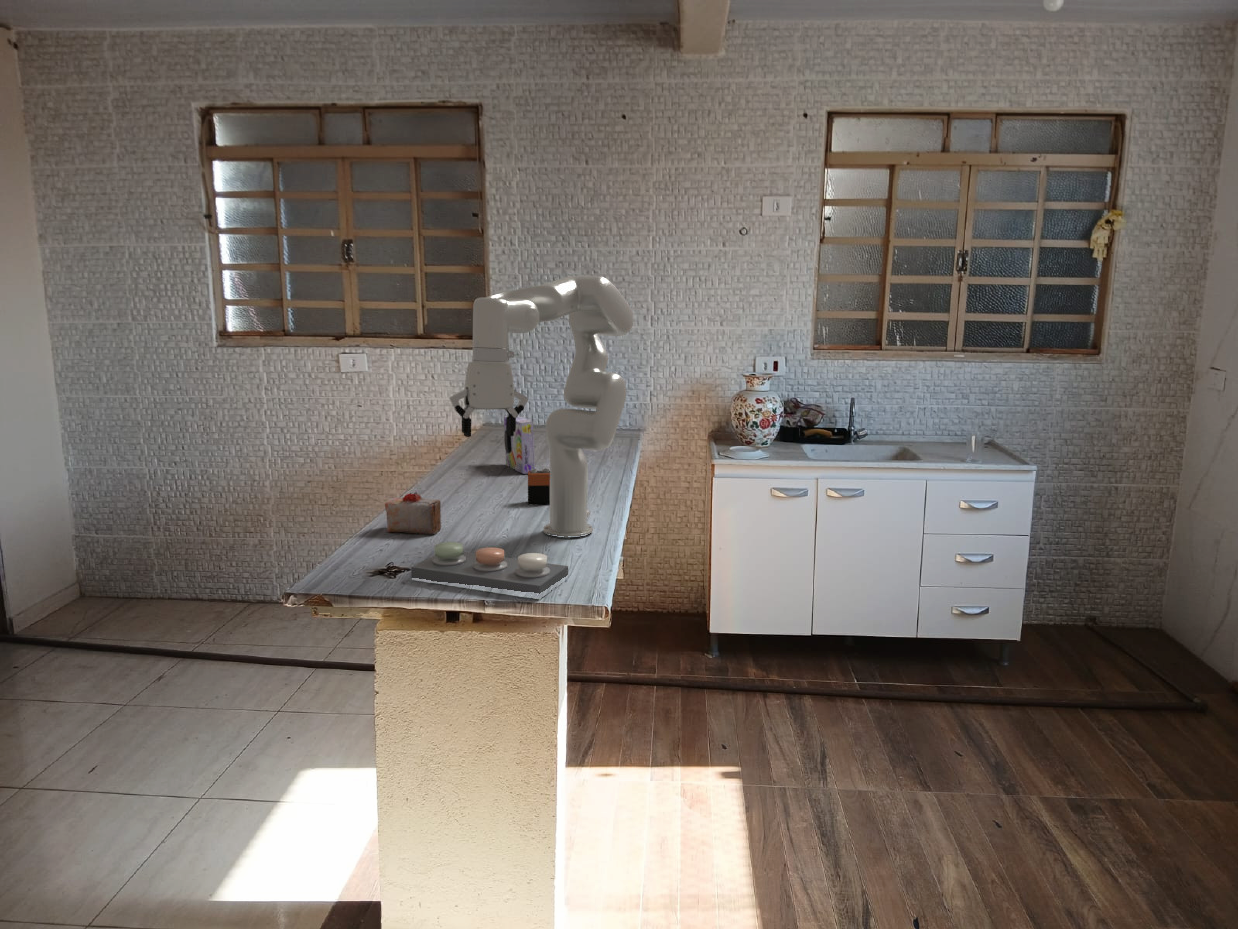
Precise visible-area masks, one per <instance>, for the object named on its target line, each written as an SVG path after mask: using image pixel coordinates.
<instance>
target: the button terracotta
mask: <svg viewBox="0 0 1238 929" xmlns="http://www.w3.org/2000/svg"><path fill="white" fill-rule="evenodd" d="M475 553H476V561H477V562H478V563H482V564H496V563H500V562H503V561H504V557H505V550H504V549H503V548H500V547H482V548H478V549H476V550H475Z"/></svg>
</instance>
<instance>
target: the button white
mask: <svg viewBox="0 0 1238 929" xmlns="http://www.w3.org/2000/svg"><path fill="white" fill-rule="evenodd" d="M517 559H518V567H519V568H521V569H524V570H540V569H544V568H546V567H547V563H548V556H547V555H545V554H543V553H539V552H538V553H537V552H527V553H523V554H520V555H519V556H518V557H517Z"/></svg>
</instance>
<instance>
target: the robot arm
mask: <svg viewBox="0 0 1238 929" xmlns="http://www.w3.org/2000/svg"><path fill="white" fill-rule="evenodd" d="M565 316H568V323H569V326H570V330H571V333H572V336H573V340H574V346H575V353H574V358H573V361H572V364H571V367H570V370H569V373H568V376H567V379H566V382H565V386H564V389H563V398H564V401H565V403H567V405H570V406H572V407H575V408H559V409H556V410H554V411H552V412H551V413H550V414H549V415H548V417H547V419H546V422H545V432H546V433H545V434H546V438H547V439H546V440H547V443H548V450H549V453H548V454H549V471H550V504H549V523H548V524H546V525H544V527H543V533H544V532H545V533H546V534H550V535H557V536H564V537H568V536H581V535H585V534H590V533H592V531H593V532H594V527H593V526H592V525H591V524H589V523H588V518H589V517H590V516H591V512H590V510H588V482H589V481H588V476H589V475H588V472H589V471H588V468H589V467H588V466H589V465H588V460H587V458H586V455H585V453H584V452H583V450H588V451H589V450H590V451H604V450H607V449H608V448H609V447H610V446H612V443H613V440H614V439H615V435H616V432H617V429H618V426H619V422H620V421H621V417H622V413H623V410H624V406H625V403H626V398H627V386H626V382H625V380H624V378H623V377H622V376H621V375H620V374H618V373H616V372H609V371H606V369H607V365H608V360H609V356H608V352H607V349H606V347H605V346H604V344H603V342H602V341H601V339H600V336H611V337H622V336H625V335H627V334H628V333H629V332H630V331H631V329H632V328H633V325H634V313H633V310H632V308H631V306H630V304H629V302H628V301H627V300H626V299H625V297H624V296H623V295H622V294H621V292H620V291H619V289H618V288H617V287H616V286H615V285H614V284H613V283H612V282H611V281H610V280H609V279H608V278H606V277H604V276H601V275H569V276H564V277H563V278H559V279H556V280H554V281H550V282H547V283H543V284H540V285H534V286H529V287H524V288H518V289H514V290H507V291H502V292H498V293H495V294H492V295H489V296H486V297H477V298H476V299H475V300H474V302H473V307H472V361H468V363H467V367H466V371H465V372H466V373H465V381H464V389H463V390H460V391H458V392H457V393H455V394H453V395H451V396H450V397H449V401H450V403H451V405H452V407H453V410H454V411H456V413H457V414H458V415H459V417H461V433H463V436H464V437H466V438H471V437H472V418H470V417H471V415H472V414H473V413H474V411H475V410H505V412H506V413H507V415H506V416H507V417H506V434H507V435H509V436H514V432H515V431H516V418H517V417H518V416H519V415H520V414H521V413H522V412H523V411H524V409H525V406H526V405H527V403H528V402H529V401H528V400H529V398H528V397H527V395H524V394H522V393H521V392H519V391H517V390H516V389H515V388H514V386H515V385H514V377H513V369H512V365H511V363H510V362H509V361H510V359H511V358H514V357H515V352H514V351H511V350H510V348H509V334H526V333H530V332H532V331H533V330H534V329H536V327H537V326H538V324H539V323H542V322H551V321H555V320H557V319H560V318H562V317H565ZM515 398H516V399H517V400H518V404H517V405H515V407H514V404H515ZM462 399H463V404H464V407H462V406H461V405H460V403H459V402H460V400H462ZM577 408H580V409H577ZM586 409H591V410H586ZM545 533H544V534H545ZM546 534H545V535H546ZM592 534H593V533H592ZM590 535H591V534H590Z"/></svg>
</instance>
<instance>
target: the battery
mask: <svg viewBox="0 0 1238 929" xmlns="http://www.w3.org/2000/svg"><path fill="white" fill-rule="evenodd" d="M527 503H528V505H530V504H533V505H535V504H542V505H550V468H547V467H545V468H544V467H543V468H541V470H537V468H535V469H531V471H528V474H527Z"/></svg>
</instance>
